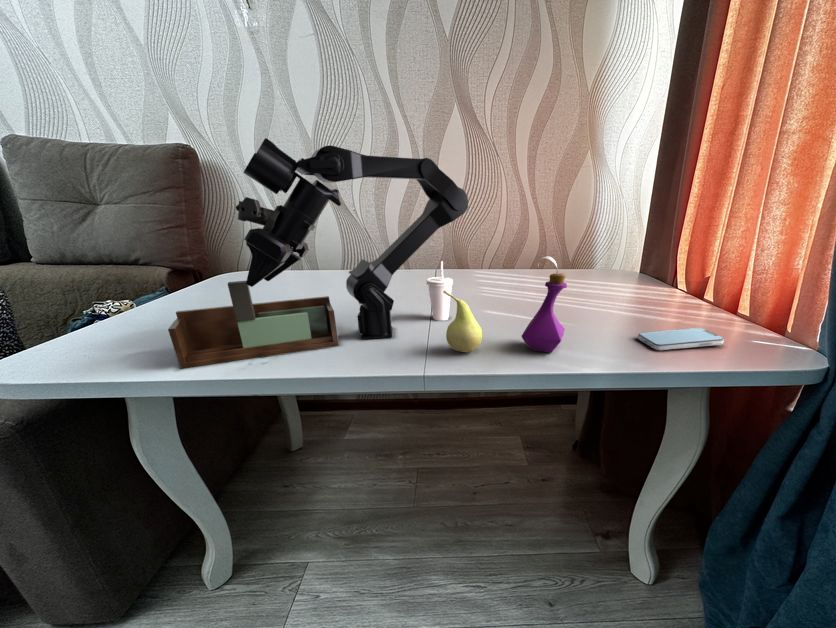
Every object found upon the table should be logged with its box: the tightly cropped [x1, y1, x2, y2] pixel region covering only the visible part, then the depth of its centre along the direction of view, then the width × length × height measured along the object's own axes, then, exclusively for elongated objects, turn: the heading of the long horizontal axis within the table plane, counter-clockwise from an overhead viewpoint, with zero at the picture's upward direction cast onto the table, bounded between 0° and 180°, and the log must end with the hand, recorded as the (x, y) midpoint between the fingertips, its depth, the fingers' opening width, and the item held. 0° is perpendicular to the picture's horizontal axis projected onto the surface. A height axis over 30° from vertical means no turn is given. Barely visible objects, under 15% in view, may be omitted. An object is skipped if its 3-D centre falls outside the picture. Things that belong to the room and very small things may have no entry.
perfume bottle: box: [521, 255, 568, 354], centre depth 72 cm, size 8×8×18 cm
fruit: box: [443, 290, 483, 353], centre depth 72 cm, size 7×8×12 cm
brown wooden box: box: [167, 295, 340, 370], centre depth 73 cm, size 27×8×8 cm, turn 115°
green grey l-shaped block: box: [227, 280, 312, 348], centre depth 71 cm, size 12×2×13 cm, turn 115°
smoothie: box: [425, 260, 454, 321], centre depth 91 cm, size 6×6×14 cm
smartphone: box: [637, 327, 725, 351], centre depth 78 cm, size 8×2×15 cm
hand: (257, 282), depth 70 cm, fingers open, 9 cm apart
